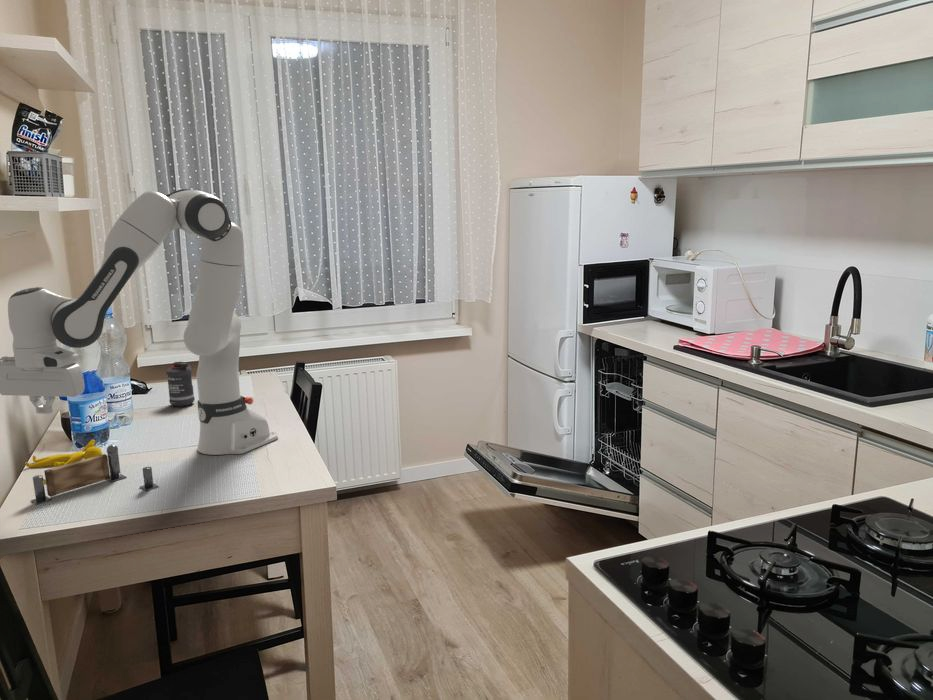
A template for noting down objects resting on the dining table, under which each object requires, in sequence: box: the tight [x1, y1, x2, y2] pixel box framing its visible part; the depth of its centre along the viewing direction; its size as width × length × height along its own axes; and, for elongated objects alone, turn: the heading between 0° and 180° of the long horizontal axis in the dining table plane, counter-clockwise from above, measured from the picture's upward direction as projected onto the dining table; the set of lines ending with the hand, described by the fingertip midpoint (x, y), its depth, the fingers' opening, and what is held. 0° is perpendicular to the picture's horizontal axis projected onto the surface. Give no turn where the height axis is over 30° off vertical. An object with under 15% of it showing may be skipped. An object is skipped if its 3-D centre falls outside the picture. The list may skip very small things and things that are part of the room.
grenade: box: [166, 361, 195, 408], centre depth 239 cm, size 8×8×15 cm
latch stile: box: [30, 474, 52, 506], centre depth 162 cm, size 3×3×6 cm
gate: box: [44, 453, 110, 498], centre depth 169 cm, size 14×2×6 cm, turn 141°
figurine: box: [24, 439, 103, 469], centre depth 187 cm, size 14×5×18 cm
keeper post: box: [139, 466, 160, 492], centre depth 170 cm, size 3×3×5 cm
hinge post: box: [106, 444, 127, 483], centre depth 175 cm, size 4×4×9 cm
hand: (44, 413), depth 167 cm, fingers closed
